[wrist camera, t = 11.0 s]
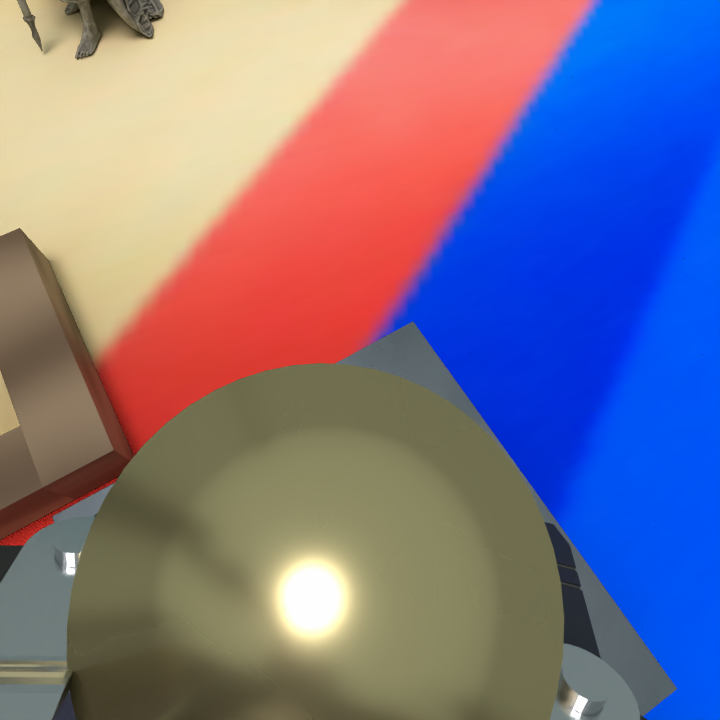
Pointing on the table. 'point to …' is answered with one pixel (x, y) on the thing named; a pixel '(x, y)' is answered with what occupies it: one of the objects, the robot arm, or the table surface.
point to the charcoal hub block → (611, 628)
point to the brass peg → (317, 564)
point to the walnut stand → (48, 395)
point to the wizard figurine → (131, 3)
